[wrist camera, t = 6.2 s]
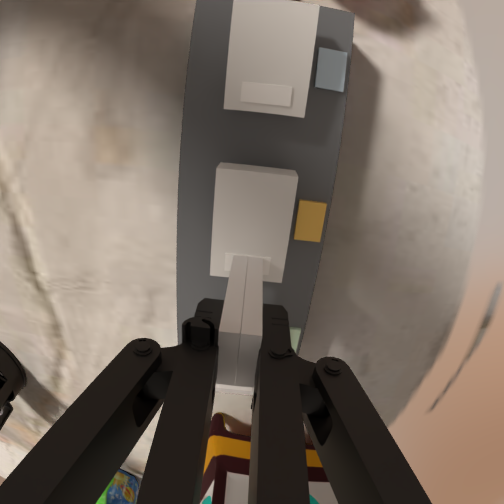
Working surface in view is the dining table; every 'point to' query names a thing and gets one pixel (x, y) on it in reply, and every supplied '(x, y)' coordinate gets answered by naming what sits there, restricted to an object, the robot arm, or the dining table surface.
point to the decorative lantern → (247, 469)
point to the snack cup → (120, 490)
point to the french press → (9, 382)
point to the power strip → (258, 159)
